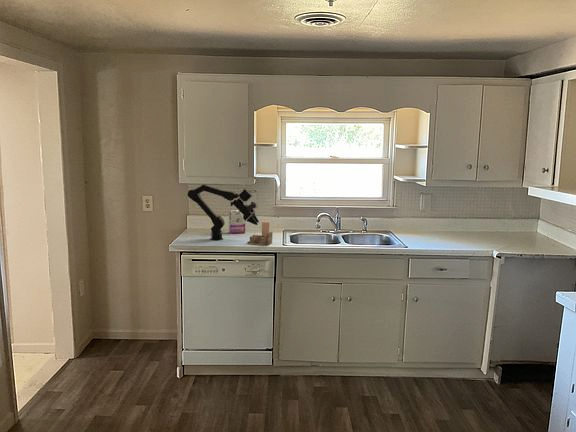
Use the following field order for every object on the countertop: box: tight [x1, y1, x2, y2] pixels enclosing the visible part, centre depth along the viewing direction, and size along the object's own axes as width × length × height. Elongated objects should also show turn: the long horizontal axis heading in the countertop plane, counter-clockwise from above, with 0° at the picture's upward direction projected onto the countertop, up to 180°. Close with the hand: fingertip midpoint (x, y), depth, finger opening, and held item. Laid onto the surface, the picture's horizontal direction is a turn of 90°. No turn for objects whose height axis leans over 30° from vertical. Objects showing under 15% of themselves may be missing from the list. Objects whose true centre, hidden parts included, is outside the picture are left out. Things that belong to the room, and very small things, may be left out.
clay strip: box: [261, 220, 271, 236], centre depth 315 cm, size 5×2×13 cm, turn 88°
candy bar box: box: [228, 209, 246, 235], centre depth 340 cm, size 11×5×16 cm, turn 112°
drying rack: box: [247, 231, 273, 246], centre depth 308 cm, size 14×8×8 cm, turn 73°
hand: (257, 223), depth 314 cm, fingers open, 9 cm apart
